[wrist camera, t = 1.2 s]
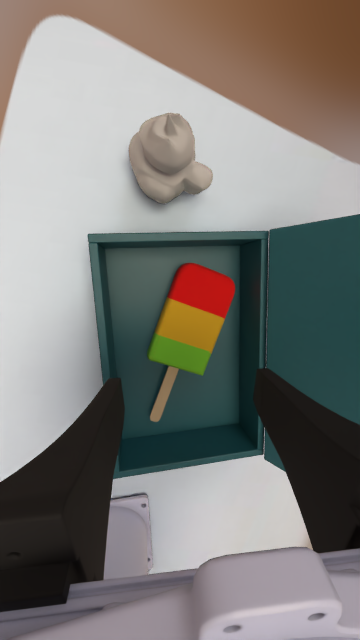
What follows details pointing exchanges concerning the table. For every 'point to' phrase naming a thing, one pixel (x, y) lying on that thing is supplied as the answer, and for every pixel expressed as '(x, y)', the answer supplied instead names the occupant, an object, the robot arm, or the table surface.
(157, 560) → the table surface
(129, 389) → the box
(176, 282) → the popsicle
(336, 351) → the lunchbox lid
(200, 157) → the table surface
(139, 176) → the beige clay figurine
